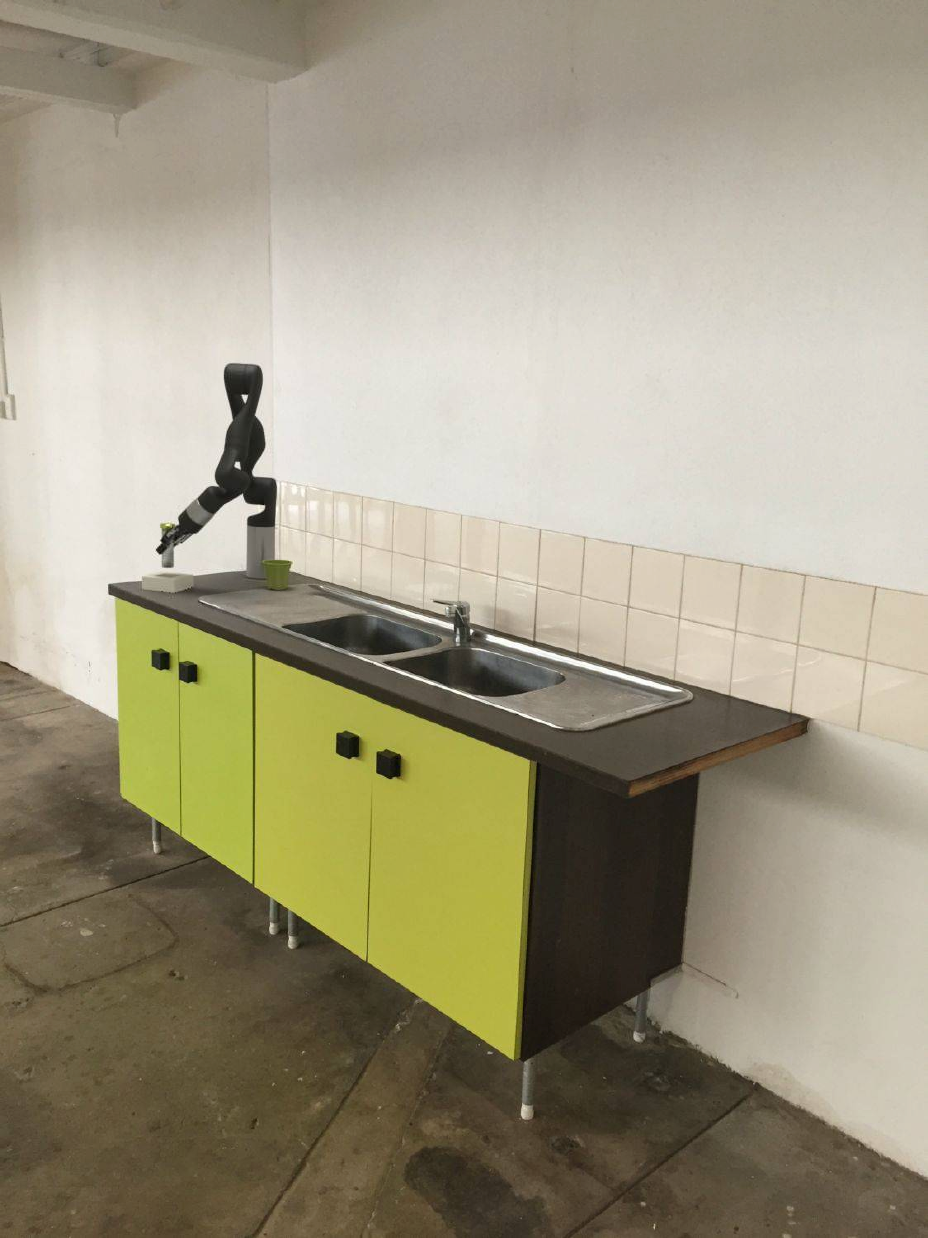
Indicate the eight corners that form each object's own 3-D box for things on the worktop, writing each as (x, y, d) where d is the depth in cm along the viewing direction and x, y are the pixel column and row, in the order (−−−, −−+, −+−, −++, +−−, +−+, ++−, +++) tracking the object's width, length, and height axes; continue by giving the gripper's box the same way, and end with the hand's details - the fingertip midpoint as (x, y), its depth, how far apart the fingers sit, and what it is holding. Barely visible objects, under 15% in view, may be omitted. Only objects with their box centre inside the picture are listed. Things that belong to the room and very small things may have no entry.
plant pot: (258, 586, 332) (259, 559, 330) (287, 585, 336) (288, 559, 334) (266, 591, 324) (266, 564, 322) (295, 591, 328) (296, 563, 326)
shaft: (165, 565, 321) (165, 522, 319) (178, 566, 320) (178, 523, 318) (157, 567, 317) (157, 524, 315) (170, 568, 316) (170, 525, 314)
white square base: (161, 583, 327) (161, 571, 326) (193, 587, 324) (193, 574, 323) (142, 589, 317) (141, 576, 316) (173, 593, 314) (173, 579, 313)
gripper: (201, 503, 320) (166, 539, 325) (176, 507, 306) (140, 544, 312) (217, 522, 319) (181, 558, 325) (192, 526, 306) (156, 563, 312)
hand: (162, 551), depth 318 cm, fingers closed on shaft, 3 cm apart
